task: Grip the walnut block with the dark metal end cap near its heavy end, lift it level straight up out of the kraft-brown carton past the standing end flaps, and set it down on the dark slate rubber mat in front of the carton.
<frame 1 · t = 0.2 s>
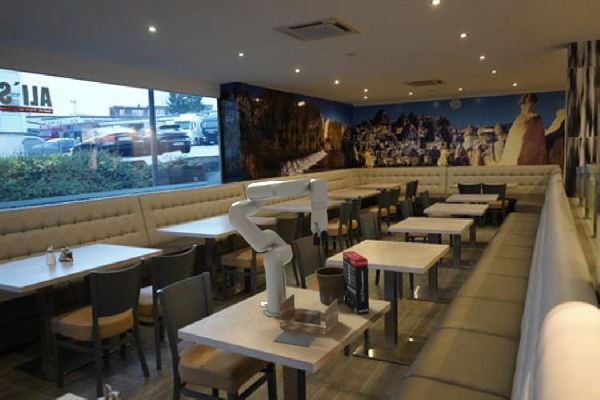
hand: (320, 243, 208), 36 cm above the table, tool pointing down, fingers open, 9 cm apart
walnut block: (308, 324, 205), resting on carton
plant pot: (332, 301, 235), on the table
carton: (309, 325, 205), on the table
rubber mat: (295, 339, 191), on the table
graphics card box: (356, 309, 223), on the table
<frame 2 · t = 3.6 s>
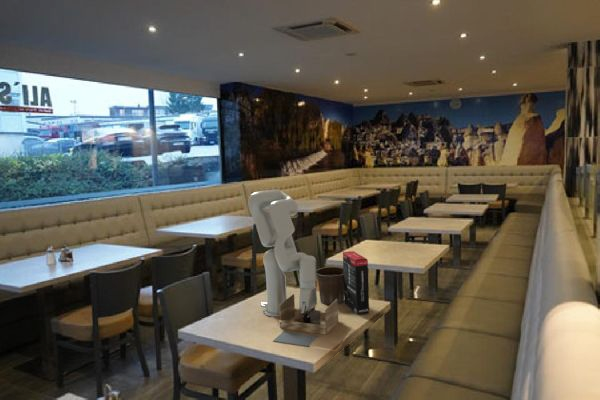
hand: (309, 322, 205), 1 cm above the table, tool pointing down, fingers closed on walnut block, 5 cm apart
walnut block: (308, 324, 205), resting on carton, touching gripper
everything else where it was.
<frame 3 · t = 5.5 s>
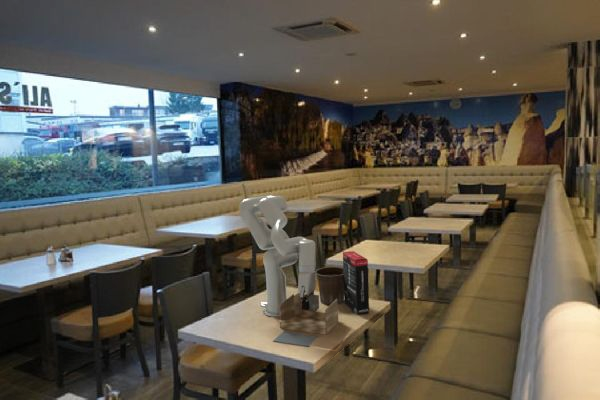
hand: (308, 306, 204), 8 cm above the table, tool pointing down, fingers closed on walnut block, 5 cm apart
walnut block: (306, 308, 205), point 8 cm above the table, touching gripper
everything else where it was.
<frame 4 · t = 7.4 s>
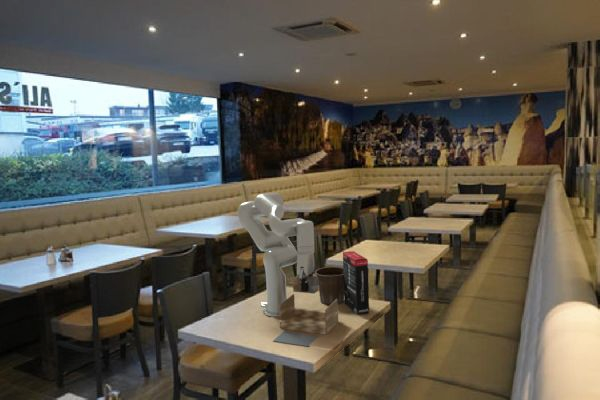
hand: (307, 288, 202), 17 cm above the table, tool pointing down, fingers closed on walnut block, 5 cm apart
walnut block: (305, 290, 202), point 16 cm above the table, touching gripper
everything else where it was.
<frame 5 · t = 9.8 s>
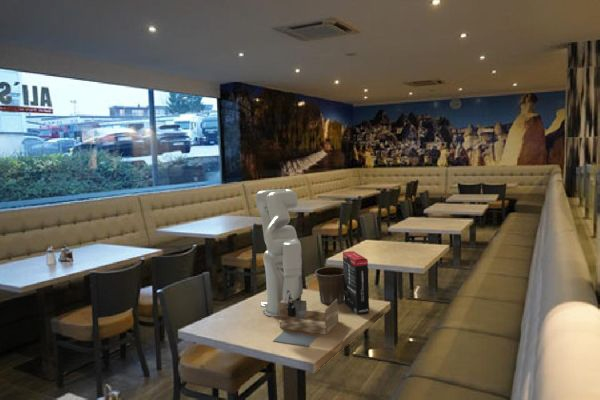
hand: (294, 313, 189), 11 cm above the table, tool pointing down, fingers closed on walnut block, 5 cm apart
walnut block: (293, 315, 190), point 10 cm above the table, touching gripper
everything else where it was.
when the fingers open (2 cm above the table, at t = 11.7 s): walnut block drops 1 cm, resting on rubber mat.
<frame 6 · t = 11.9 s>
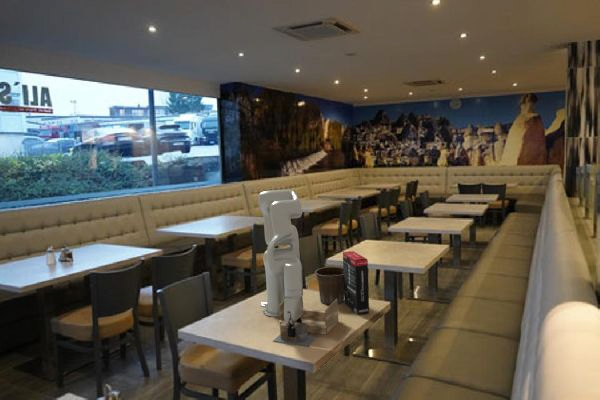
hand: (295, 333, 190), 3 cm above the table, tool pointing down, fingers open, 6 cm apart
walnut block: (294, 338, 191), resting on rubber mat
everything else where it was.
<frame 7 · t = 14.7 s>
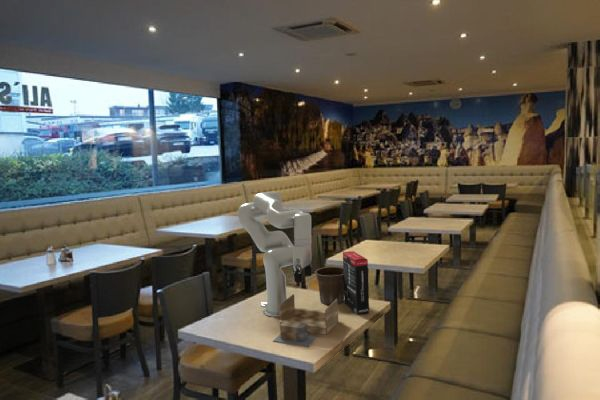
hand: (303, 278, 202), 22 cm above the table, tool pointing down, fingers open, 9 cm apart
nothing on the table moved.
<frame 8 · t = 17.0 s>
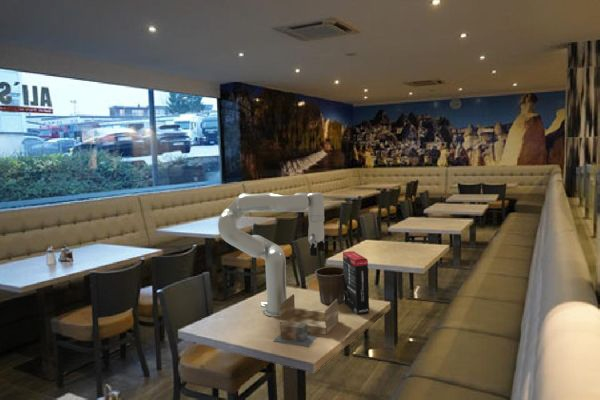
hand: (317, 253, 221), 28 cm above the table, tool pointing down, fingers open, 9 cm apart
nothing on the table moved.
at the end: walnut block inside the target area (0.1 cm from its centre), resting on rubber mat; walnut block tilted 0°; the gripper is holding nothing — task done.
